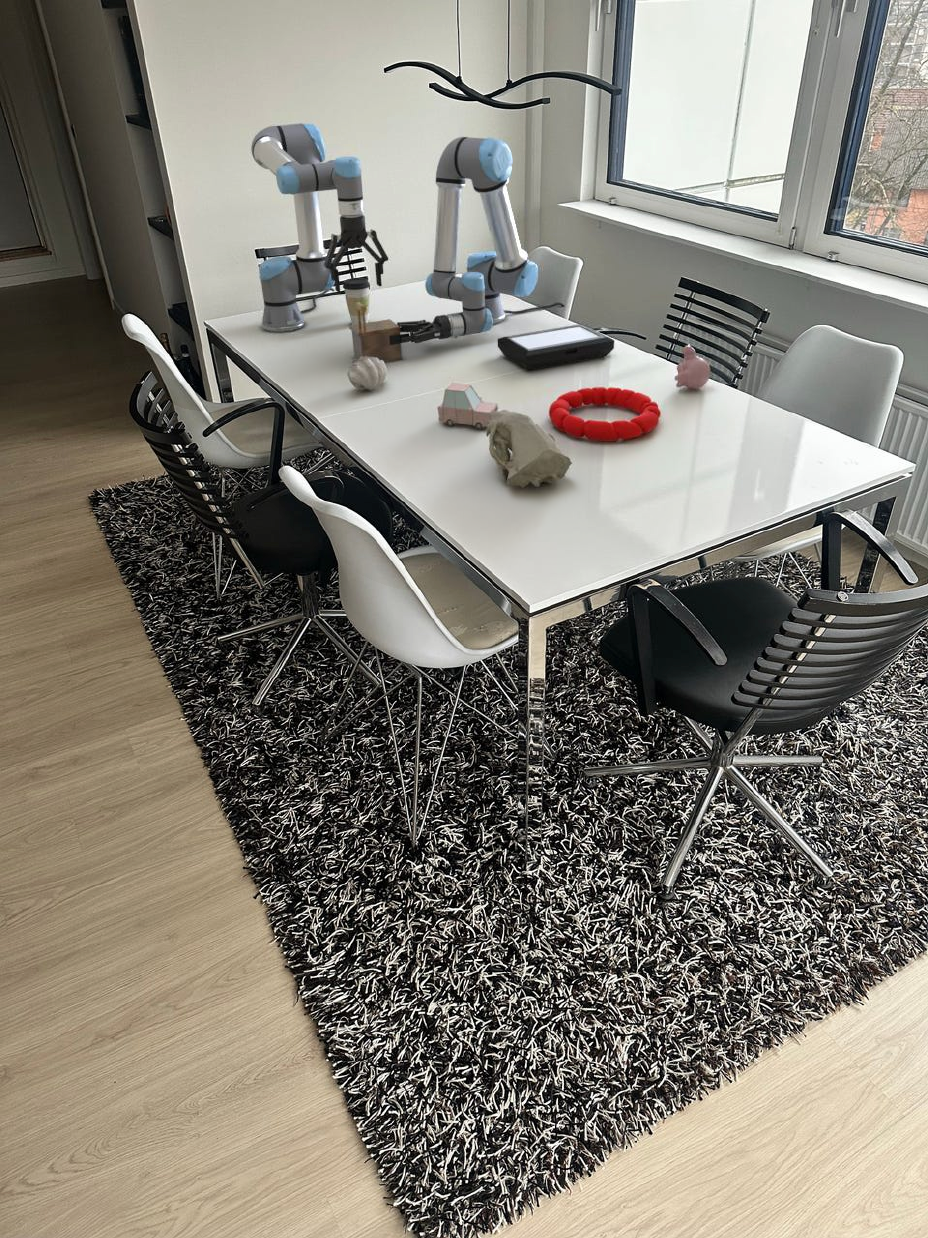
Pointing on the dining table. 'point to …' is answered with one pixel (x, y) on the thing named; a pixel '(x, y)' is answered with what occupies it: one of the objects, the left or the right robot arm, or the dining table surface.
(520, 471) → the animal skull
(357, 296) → the coffee cup
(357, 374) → the seashell
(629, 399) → the decorative ring
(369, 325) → the lid
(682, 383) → the figurine
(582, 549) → the dining table surface
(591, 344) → the electronic device
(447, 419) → the toy car
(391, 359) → the chest
